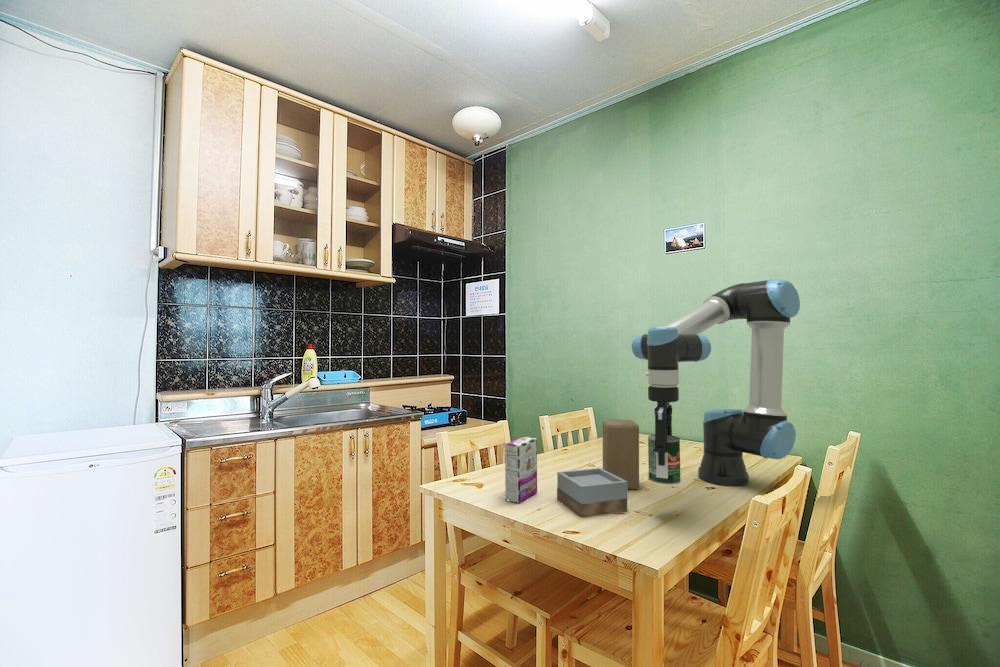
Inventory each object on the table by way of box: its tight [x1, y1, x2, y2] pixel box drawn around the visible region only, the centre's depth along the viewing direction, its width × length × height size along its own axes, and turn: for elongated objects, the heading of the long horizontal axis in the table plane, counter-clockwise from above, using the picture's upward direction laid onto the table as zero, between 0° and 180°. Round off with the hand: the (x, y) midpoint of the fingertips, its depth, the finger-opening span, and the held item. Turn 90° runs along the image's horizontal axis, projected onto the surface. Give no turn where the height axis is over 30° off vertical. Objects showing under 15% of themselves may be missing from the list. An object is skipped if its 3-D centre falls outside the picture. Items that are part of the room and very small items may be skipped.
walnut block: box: [556, 488, 628, 518], centre depth 126 cm, size 14×14×4 cm
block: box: [602, 418, 640, 490], centre depth 145 cm, size 10×10×20 cm
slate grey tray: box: [556, 467, 629, 504], centre depth 127 cm, size 14×14×4 cm
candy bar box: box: [504, 436, 538, 504], centre depth 133 cm, size 11×5×16 cm, turn 148°
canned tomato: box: [647, 434, 681, 485], centre depth 119 cm, size 8×8×11 cm
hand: (664, 472), depth 119 cm, fingers closed on canned tomato, 8 cm apart
